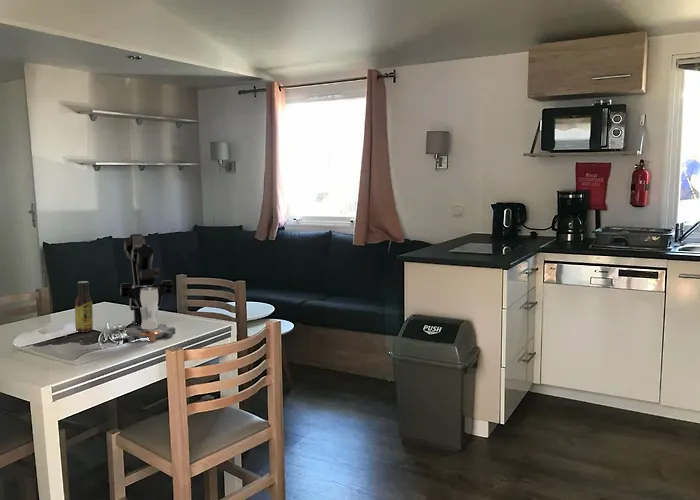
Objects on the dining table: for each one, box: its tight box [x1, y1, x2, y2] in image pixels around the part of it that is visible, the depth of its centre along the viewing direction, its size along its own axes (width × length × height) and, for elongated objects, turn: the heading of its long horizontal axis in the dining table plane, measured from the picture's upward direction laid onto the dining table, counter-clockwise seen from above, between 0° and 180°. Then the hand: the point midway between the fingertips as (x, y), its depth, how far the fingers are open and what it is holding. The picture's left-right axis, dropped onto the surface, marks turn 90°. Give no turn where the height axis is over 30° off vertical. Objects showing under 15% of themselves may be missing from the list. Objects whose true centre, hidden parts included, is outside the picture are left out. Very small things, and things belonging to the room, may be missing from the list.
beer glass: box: [139, 287, 159, 330], centre depth 215 cm, size 7×7×15 cm
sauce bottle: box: [74, 280, 94, 333], centre depth 224 cm, size 6×6×20 cm
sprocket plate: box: [125, 324, 176, 343], centre depth 220 cm, size 20×20×2 cm
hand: (149, 306), depth 213 cm, fingers closed on beer glass, 7 cm apart
